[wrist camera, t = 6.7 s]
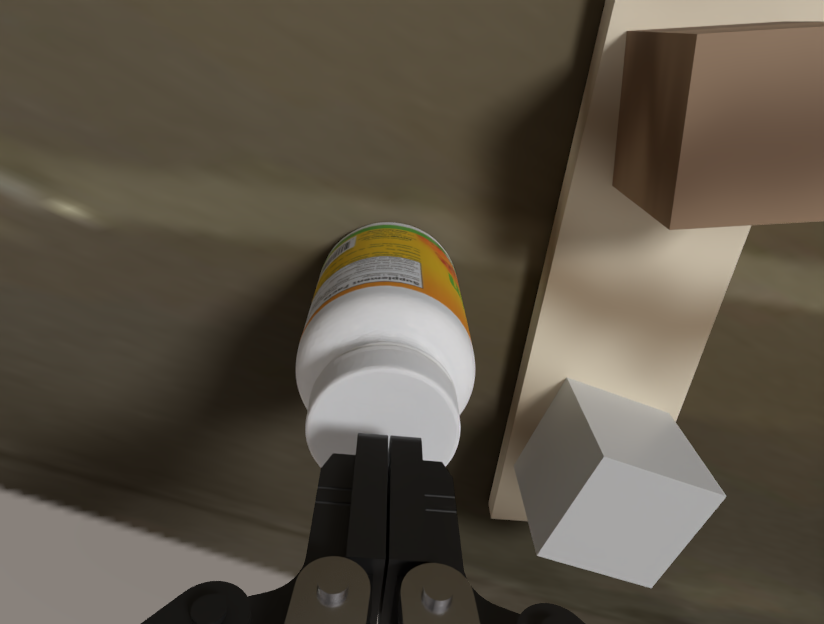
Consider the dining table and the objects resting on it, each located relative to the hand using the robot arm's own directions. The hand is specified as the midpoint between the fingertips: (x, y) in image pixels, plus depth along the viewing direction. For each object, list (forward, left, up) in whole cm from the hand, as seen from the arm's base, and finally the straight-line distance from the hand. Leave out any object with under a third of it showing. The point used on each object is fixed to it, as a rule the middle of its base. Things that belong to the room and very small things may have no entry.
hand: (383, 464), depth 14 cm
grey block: (+6, +10, -10) cm, 15 cm away
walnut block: (-8, +10, -10) cm, 16 cm away
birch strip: (-1, +10, -11) cm, 14 cm away
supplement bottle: (0, 0, -11) cm, 11 cm away
